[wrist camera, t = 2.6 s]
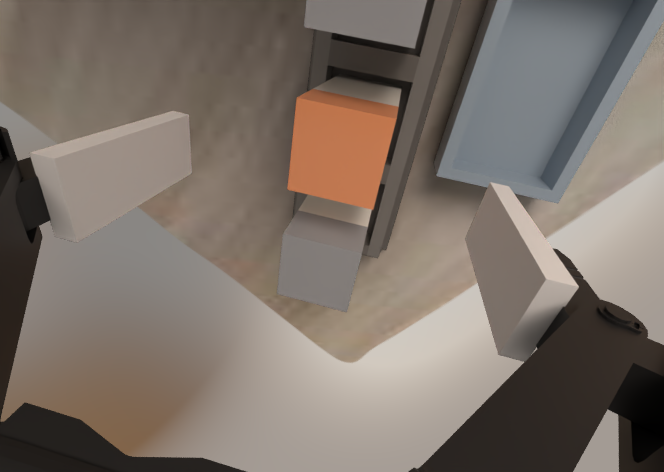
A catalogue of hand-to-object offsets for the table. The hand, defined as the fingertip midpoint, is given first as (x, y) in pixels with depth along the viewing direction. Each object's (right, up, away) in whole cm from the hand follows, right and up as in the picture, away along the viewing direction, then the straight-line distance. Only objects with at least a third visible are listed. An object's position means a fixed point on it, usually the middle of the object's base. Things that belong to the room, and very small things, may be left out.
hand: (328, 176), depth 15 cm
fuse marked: (+3, +7, +11) cm, 13 cm away
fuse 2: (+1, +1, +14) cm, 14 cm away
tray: (+14, +8, +8) cm, 18 cm away
